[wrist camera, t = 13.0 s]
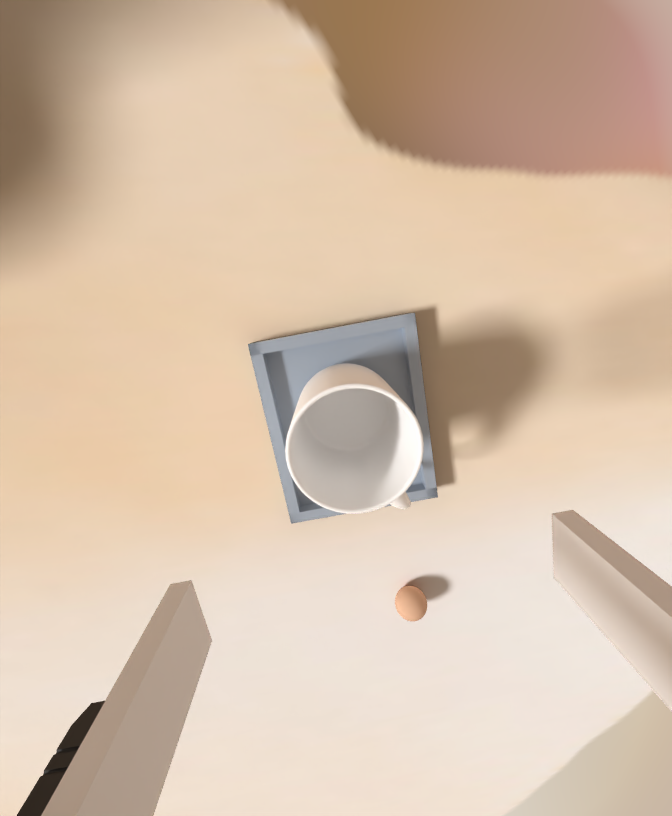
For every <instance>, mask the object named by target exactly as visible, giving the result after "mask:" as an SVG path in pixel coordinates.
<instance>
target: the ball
mask: <svg viewBox="0 0 672 816" xmlns="http://www.w3.org/2000/svg"><path fill="white" fill-rule="evenodd" d="M395 605H396V609H397V611H398V613H399V614H400V615H401V616H402V617H403V618H404V619H406V620H408V621H417V620H419V619H421V618H422V617H423V616H424V615H425V613H426V610H427V600H426V597H425V595H424V594H423V592H422V591H421V590H420V589H418V588H417V587H414V586H405V587H403V588H401V589H400V590H399V591H398V593H397V595H396V599H395Z"/></svg>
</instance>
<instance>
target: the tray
mask: <svg viewBox="0 0 672 816" xmlns="http://www.w3.org/2000/svg"><path fill="white" fill-rule="evenodd" d="M248 347H249V351H250V355H251V359H252V363H253V367H254V371H255V376H256V380H257V384H258V388H259V392H260V396H261V400H262V404H263V409H264V413H265V417H266V421H267V425H268V429H269V433H270V437H271V442H272V446H273V450H274V454H275V458H276V462H277V466H278V471H279V475H280V479H281V483H282V487H283V491H284V495H285V499H286V504H287V508H288V512H289V516H290V520H291V523H297V522H302V521H308V520H314V519H319V518H325V517H330V516H336V515H341V514H347V513H340V512H335V511H332V510H329V509H326V508H324V507H322V506H320V505H318V504H316V503H315V502H313V501H312V500H311V499H309V498H308V497H307V496H306V495H305V494H304V493H303V492H302V491H301V490H300V489H299V488H298V486H297V485H296V484H295V482H294V480H293V478H292V476H291V474H290V472H289V469H288V466H287V461H286V453H285V448H286V439H287V434H288V431H289V428H290V424H291V421H292V418H293V415H294V412H295V409H296V406H297V403H298V400H299V397H300V394H301V392H302V390H303V388H304V387H305V385H306V384H307V382H308V381H309V380H310V379H311V378H312V377H313V376H314V375H315V374H316V373H318V372H319V371H321V370H323V369H325V368H327V367H329V366H332V365H336V364H343V363H350V364H357V365H361V366H364V367H367V368H369V369H370V370H372V371H374V372H375V373H377V374H378V375H379V376H380V377H381V378H382V379H384V380H385V382H386V383H387V384H388V385H389V386H390V387H391V388H392V389H393V390H394V391H395V392H396V393H397V394H398V396H399V397H400V398H401V399H402V400H403V401H404V402H405V403H406V404H407V405H408V407H409V408H410V409H411V410H412V411H413V413H414V415H415V416H416V418H417V420H418V422H419V425H420V427H421V431H422V435H423V442H424V452H423V458H422V463H421V466H420V469H419V471H418V474H417V476H416V478H415V479H414V481H413V483H412V484H411V485H410V487H409V488H408V489H407V490H406V491H405V492H406V493H407V495H408V497H409V499H410V501H411V502H414V501H419V500H425V499H430V498H436V497H438V495H437V487H436V479H435V471H434V463H433V455H432V447H431V439H430V431H429V423H428V415H427V407H426V398H425V390H424V382H423V374H422V366H421V358H420V350H419V342H418V334H417V326H416V318H415V313H407V314H401V315H396V316H391V317H386V318H380V319H375V320H370V321H364V322H359V323H354V324H349V325H343V326H338V327H333V328H327V329H322V330H317V331H312V332H306V333H301V334H296V335H290V336H285V337H280V338H275V339H269V340H264V341H259V342H254V343H250V344H248ZM387 506H391V504H388V505H387ZM385 507H386V506H385Z"/></svg>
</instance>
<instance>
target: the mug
mask: <svg viewBox="0 0 672 816" xmlns="http://www.w3.org/2000/svg"><path fill="white" fill-rule="evenodd" d="M423 452H424V442H423V435H422V431H421V427H420V425H419V422H418V420H417V418H416V416H415V415H414V413H413V411H412V410H411V409H410V408H409V407H408V405H407V404H406V403H405V402H404V401H403V400H402V399H401V398H400V397H399V396H398V394H397V393H396V392H395V391H394V390H393V389H392V388H391V387H390V386H389V385H388V384H387V383H386V382H385V380H384V379H382V378H381V377H380V376H379V375H378V374H377V373H375V372H374V371H372V370H370V369H369V368H367V367H364V366H361V365H357V364H350V363H343V364H336V365H332V366H329V367H327V368H325V369H323V370H321V371H319V372H318V373H316V374H315V375H314V376H313V377H312V378H311V379H310V380H309V381H308V382H307V384H306V385H305V387H304V388H303V390H302V392H301V394H300V397H299V400H298V403H297V406H296V409H295V412H294V415H293V418H292V421H291V424H290V428H289V431H288V434H287V439H286V448H285V453H286V461H287V466H288V469H289V472H290V474H291V476H292V478H293V480H294V482H295V484H296V485H297V486H298V488H299V489H300V490H301V491H302V492H303V493H304V494H305V495H306V496H307V497H308V498H309V499H311V500H312V501H313V502H315V503H316V504H318V505H320V506H322V507H324V508H326V509H329V510H332V511H335V512H340V513H348V514H358V513H366V512H371V511H374V510H378V509H380V508H382V507H385V506H387V505H388V504H391V505H392V506H394V507H397V508H400V509H407V508H408V507H409V506H410V505H411V501H410V499H409V497H408V495H407V493H406V492H405V491H406V490H407V489H408V488H409V487H410V485H411V484H412V483H413V481H414V479H415V478H416V476H417V474H418V471H419V469H420V466H421V463H422V458H423Z"/></svg>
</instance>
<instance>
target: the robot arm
mask: <svg viewBox="0 0 672 816" xmlns="http://www.w3.org/2000/svg"><path fill="white" fill-rule="evenodd" d="M552 540H553V571H554V579H555V580H556V581H557V582H558V583H559V584H560V586H561V587H562V588H563V589H564V590H565V591H566V592H567V594H568V595H569V596H570V597H571V598H572V599H573V600H574V601H575V603H576V604H577V605H578V606H579V607H580V608H581V609H582V611H583V612H584V613H585V614H586V615H587V616H588V617H589V618H590V620H591V621H592V622H593V623H594V624H595V625H596V626H597V628H598V629H599V630H600V631H601V632H602V633H603V634H604V635H605V637H606V638H607V639H608V640H609V641H610V642H611V643H612V645H613V646H614V647H615V648H616V649H617V650H618V651H619V652H620V654H621V655H622V656H623V657H624V658H625V659H626V660H627V662H628V663H629V664H630V665H631V666H632V667H633V668H634V669H635V671H636V672H637V673H638V674H639V675H640V676H641V677H642V679H643V680H644V681H645V682H646V683H647V684H648V685H649V686H650V688H651V689H652V690H653V691H654V692H655V693H656V694H657V696H658V697H659V698H660V699H661V700H662V701H663V702H664V703H665V705H666V706H667V707H668V708H669V709H670V710H671V711H672V586H670V585H669V584H668V583H666V582H665V581H664V580H663V579H661V578H660V577H659V576H657V575H656V574H655V573H654V572H652V571H651V570H650V569H648V568H647V567H646V566H644V565H643V564H642V563H641V562H639V561H638V560H637V559H635V558H634V557H633V556H632V555H630V554H629V553H628V552H626V551H625V550H624V549H623V548H621V547H620V546H619V545H617V544H616V543H615V542H614V541H612V540H611V539H610V538H608V537H607V536H606V535H605V534H603V533H602V532H601V531H599V530H598V529H597V528H596V527H594V526H593V525H592V524H590V523H589V522H588V521H587V520H585V519H584V518H583V517H581V516H580V515H579V514H578V513H576V512H575V511H574V510H570V511H564V512H559V513H553V514H552ZM211 642H212V639H211V636H210V633H209V630H208V627H207V625H206V622H205V619H204V616H203V613H202V610H201V607H200V604H199V601H198V598H197V595H196V592H195V589H194V586H193V584H192V581H185V582H180V583H174V584H170V586H169V588H168V590H167V591H166V593H165V595H164V597H163V599H162V600H161V602H160V604H159V606H158V608H157V609H156V611H155V613H154V615H153V616H152V618H151V620H150V622H149V624H148V625H147V627H146V629H145V631H144V633H143V634H142V636H141V638H140V640H139V642H138V643H137V645H136V647H135V649H134V650H133V652H132V654H131V656H130V658H129V659H128V661H127V663H126V665H125V667H124V668H123V670H122V672H121V674H120V676H119V677H118V679H117V681H116V683H115V684H114V686H113V688H112V690H111V692H110V693H109V695H108V697H107V699H106V701H101V702H96V703H91V704H90V706H89V707H88V708H87V709H86V710H85V711H84V712H83V713H82V714H81V715H80V717H79V718H78V719H77V720H76V721H75V722H74V723H73V724H72V726H71V727H70V729H69V730H68V732H67V734H66V735H65V737H64V739H63V740H62V742H61V744H60V745H59V747H58V749H57V753H56V754H55V755H53V757H52V758H51V760H50V762H49V763H48V765H47V767H46V768H45V770H44V774H43V776H41V777H40V778H39V780H38V781H37V783H36V785H35V786H34V788H33V790H32V791H31V793H30V795H29V796H28V798H27V800H26V801H25V803H24V804H23V806H22V808H21V809H20V811H19V813H18V814H17V816H153V815H154V812H155V809H156V806H157V803H158V800H159V797H160V794H161V791H162V788H163V785H164V782H165V779H166V776H167V773H168V770H169V767H170V764H171V761H172V758H173V755H174V752H175V749H176V746H177V743H178V740H179V737H180V734H181V731H182V728H183V725H184V722H185V719H186V716H187V713H188V711H189V708H190V705H191V702H192V699H193V696H194V693H195V690H196V687H197V684H198V681H199V678H200V675H201V672H202V669H203V666H204V663H205V660H206V657H207V654H208V651H209V648H210V645H211Z"/></svg>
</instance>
